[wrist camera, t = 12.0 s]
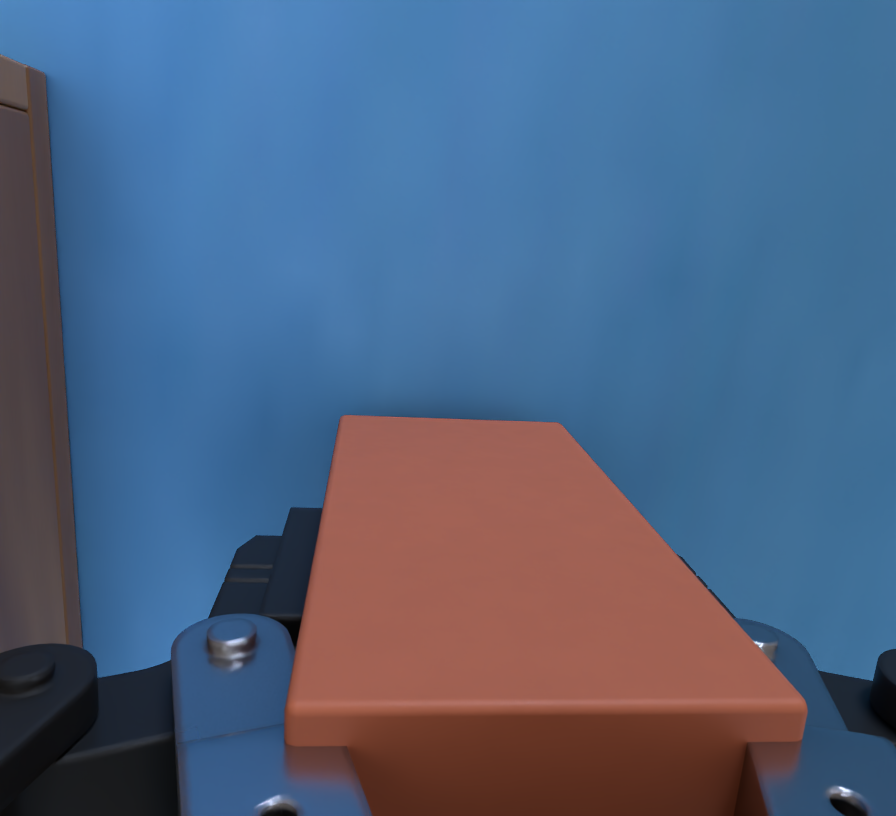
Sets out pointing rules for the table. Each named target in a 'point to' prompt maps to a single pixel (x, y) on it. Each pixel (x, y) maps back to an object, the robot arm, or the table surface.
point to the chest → (32, 383)
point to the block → (517, 635)
